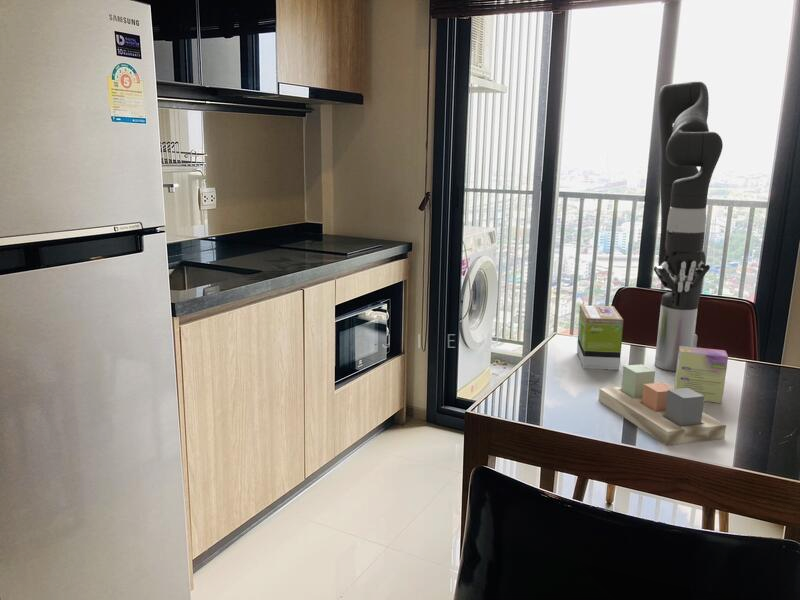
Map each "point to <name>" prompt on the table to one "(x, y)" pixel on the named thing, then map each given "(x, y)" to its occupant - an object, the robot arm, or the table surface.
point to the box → (702, 371)
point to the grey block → (684, 407)
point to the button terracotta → (655, 396)
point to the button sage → (636, 379)
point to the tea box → (599, 337)
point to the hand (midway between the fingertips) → (677, 307)
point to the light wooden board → (660, 420)
